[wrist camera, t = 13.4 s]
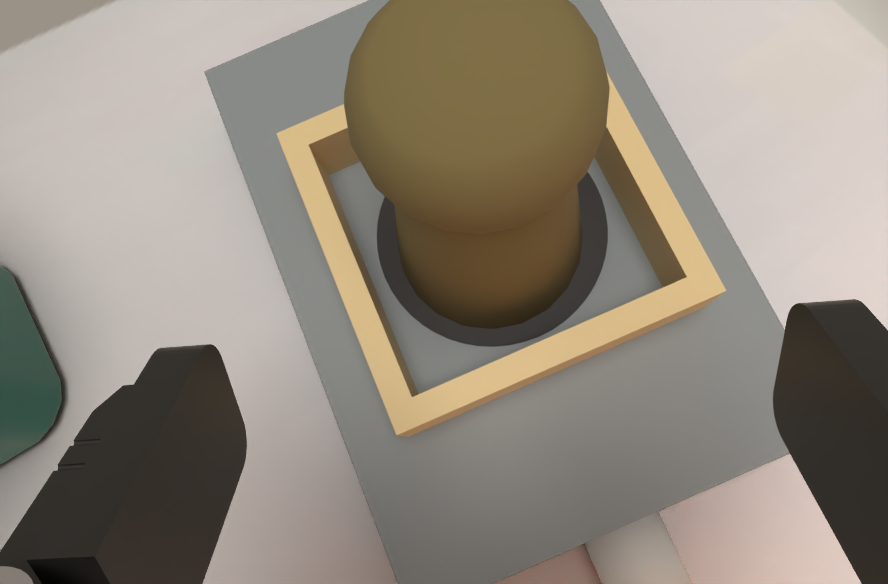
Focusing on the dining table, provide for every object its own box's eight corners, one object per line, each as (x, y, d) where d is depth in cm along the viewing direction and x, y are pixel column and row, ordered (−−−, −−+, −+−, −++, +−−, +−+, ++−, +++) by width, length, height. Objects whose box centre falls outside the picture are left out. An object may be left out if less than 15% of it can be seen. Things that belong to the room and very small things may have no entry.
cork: (503, 118, 24) (497, -151, 13) (621, 251, 22) (723, 72, 12) (362, 226, 23) (237, 40, 13) (473, 367, 22) (439, 292, 11)
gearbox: (244, 121, 29) (172, 31, 23) (548, -10, 29) (559, -136, 23) (465, 694, 24) (451, 783, 17) (840, 529, 24) (960, 558, 18)
